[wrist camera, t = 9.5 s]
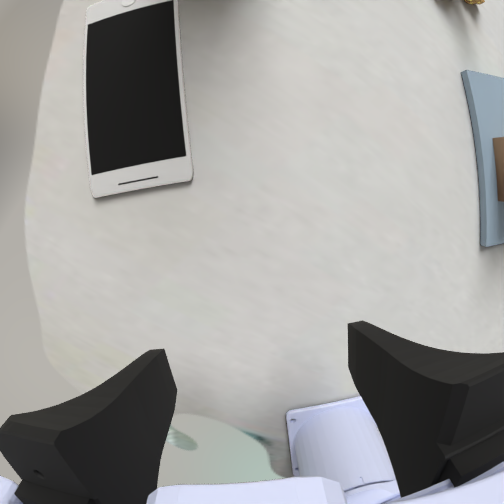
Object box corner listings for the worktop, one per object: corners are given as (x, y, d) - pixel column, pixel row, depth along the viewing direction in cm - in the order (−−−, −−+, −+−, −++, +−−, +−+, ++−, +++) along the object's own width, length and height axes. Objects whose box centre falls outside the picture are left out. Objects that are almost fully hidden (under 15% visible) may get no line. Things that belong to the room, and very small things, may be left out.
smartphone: (178, -15, 16) (176, -21, 15) (195, 180, 20) (193, 180, 19) (90, 10, 16) (85, 6, 15) (96, 198, 20) (90, 199, 19)
